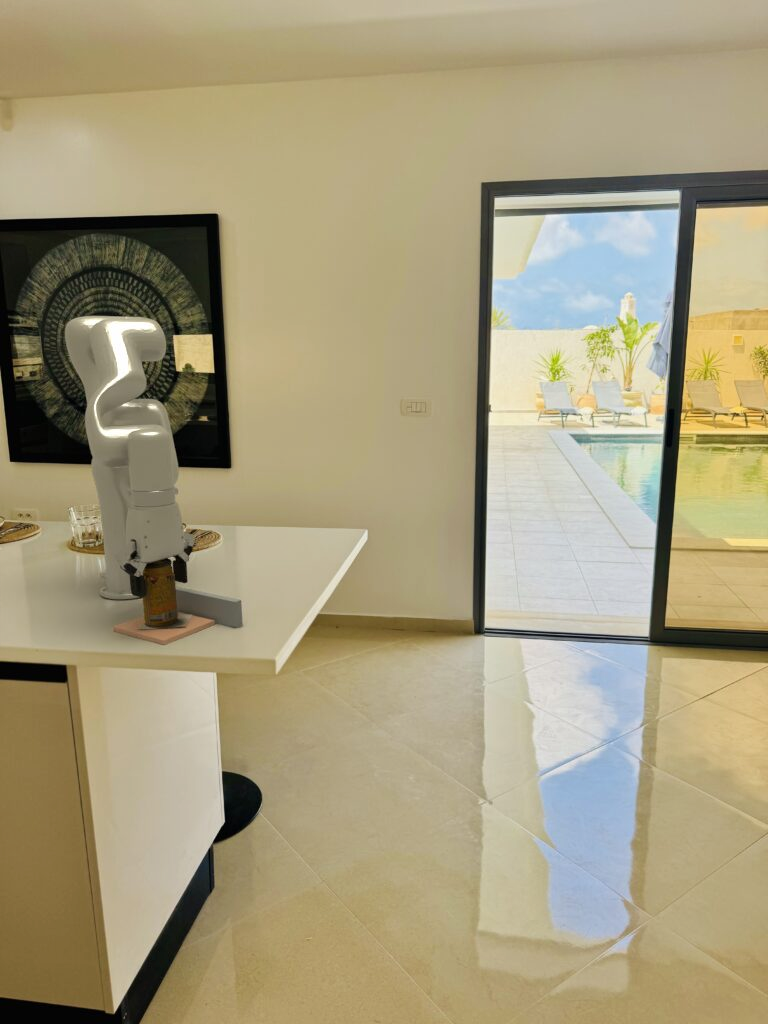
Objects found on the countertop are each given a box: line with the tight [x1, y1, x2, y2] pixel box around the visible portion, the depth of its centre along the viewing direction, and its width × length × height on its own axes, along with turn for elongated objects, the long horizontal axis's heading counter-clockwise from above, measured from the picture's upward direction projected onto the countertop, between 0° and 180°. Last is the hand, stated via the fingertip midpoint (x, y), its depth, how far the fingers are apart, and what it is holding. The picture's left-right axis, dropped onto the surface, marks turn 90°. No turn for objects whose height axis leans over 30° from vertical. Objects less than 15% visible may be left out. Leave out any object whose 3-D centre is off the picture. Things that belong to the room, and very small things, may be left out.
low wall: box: [175, 585, 244, 629], centre depth 140 cm, size 22×2×5 cm, turn 57°
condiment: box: [139, 558, 193, 629], centre depth 134 cm, size 7×8×12 cm
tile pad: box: [112, 612, 216, 646], centre depth 134 cm, size 14×12×1 cm
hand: (160, 588), depth 134 cm, fingers open, 9 cm apart
